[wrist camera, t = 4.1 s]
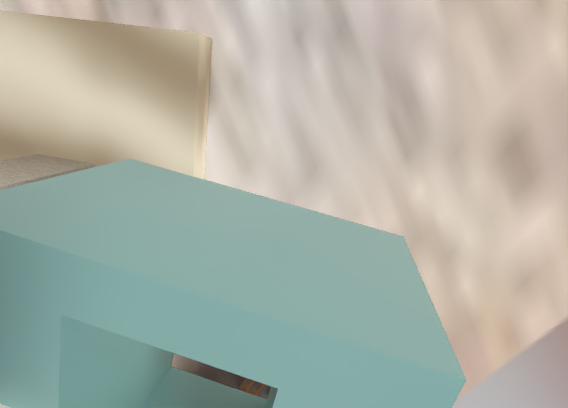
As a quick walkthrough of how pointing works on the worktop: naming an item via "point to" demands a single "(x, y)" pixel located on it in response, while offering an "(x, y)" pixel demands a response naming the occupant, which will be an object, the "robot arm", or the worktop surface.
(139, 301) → the teal open cube
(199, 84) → the board
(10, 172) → the grey rectangular peg
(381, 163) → the worktop surface
